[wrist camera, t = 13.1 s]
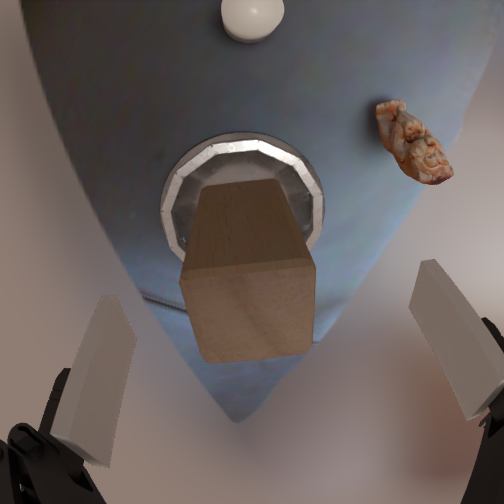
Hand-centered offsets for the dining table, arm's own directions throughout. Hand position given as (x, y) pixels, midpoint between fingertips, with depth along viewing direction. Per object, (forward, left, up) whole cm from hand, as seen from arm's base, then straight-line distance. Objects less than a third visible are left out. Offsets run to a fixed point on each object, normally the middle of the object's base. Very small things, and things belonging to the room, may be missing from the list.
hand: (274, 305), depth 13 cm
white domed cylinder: (-16, +2, -28) cm, 33 cm away
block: (+8, -1, -28) cm, 29 cm away
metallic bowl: (+9, -1, -28) cm, 30 cm away
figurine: (-2, +18, -29) cm, 34 cm away
